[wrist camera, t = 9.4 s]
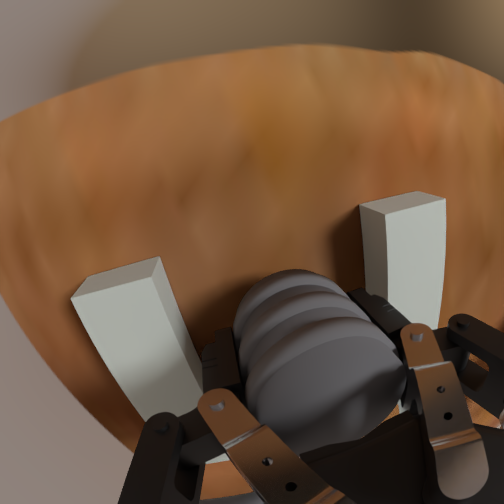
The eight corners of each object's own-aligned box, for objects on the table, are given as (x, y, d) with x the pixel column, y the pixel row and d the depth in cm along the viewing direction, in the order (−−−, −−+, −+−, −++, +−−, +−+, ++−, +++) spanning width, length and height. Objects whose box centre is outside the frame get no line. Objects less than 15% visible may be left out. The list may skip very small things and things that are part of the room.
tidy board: (417, 190, 14) (541, 232, 6) (407, 371, 19) (466, 442, 11) (88, 276, 13) (5, 393, 5) (182, 441, 18) (186, 539, 10)
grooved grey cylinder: (336, 250, 13) (420, 318, 7) (343, 343, 14) (400, 423, 9) (216, 284, 12) (231, 385, 7) (245, 374, 14) (270, 472, 8)
